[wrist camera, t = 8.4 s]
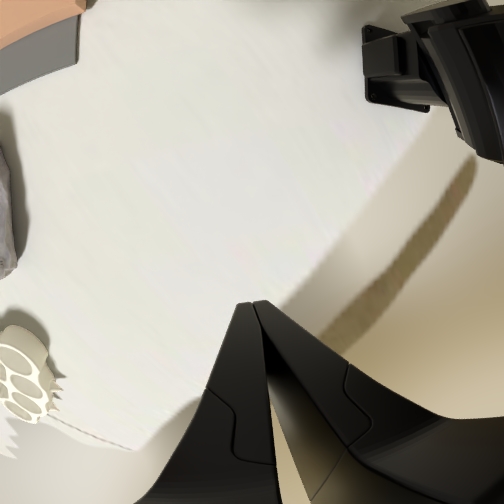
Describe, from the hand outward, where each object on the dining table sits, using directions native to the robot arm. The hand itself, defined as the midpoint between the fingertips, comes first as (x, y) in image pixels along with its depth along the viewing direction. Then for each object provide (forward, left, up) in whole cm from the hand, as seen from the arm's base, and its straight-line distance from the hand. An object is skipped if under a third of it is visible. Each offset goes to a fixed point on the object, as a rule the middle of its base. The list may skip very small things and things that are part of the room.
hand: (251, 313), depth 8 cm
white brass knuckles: (+28, +17, -14) cm, 36 cm away
